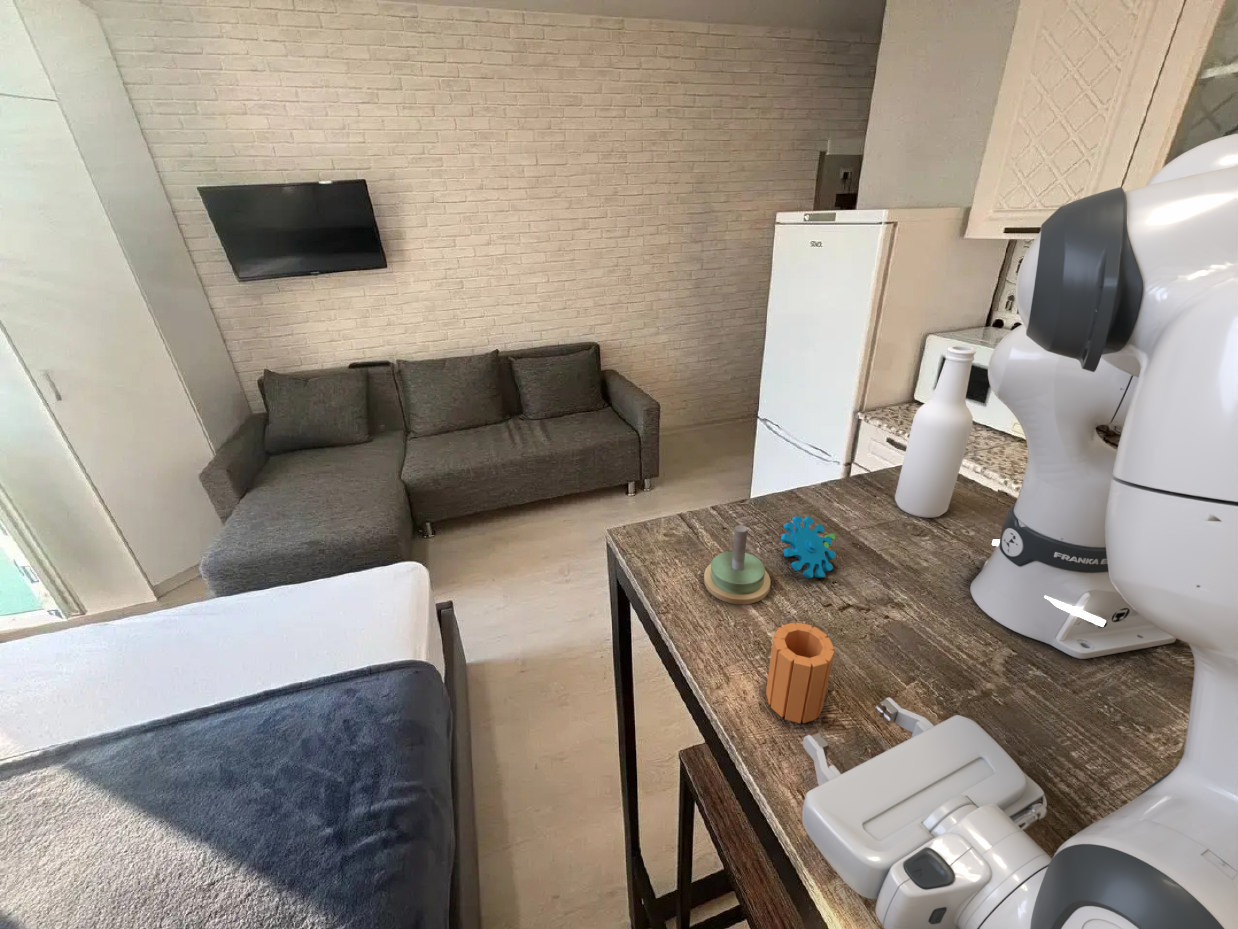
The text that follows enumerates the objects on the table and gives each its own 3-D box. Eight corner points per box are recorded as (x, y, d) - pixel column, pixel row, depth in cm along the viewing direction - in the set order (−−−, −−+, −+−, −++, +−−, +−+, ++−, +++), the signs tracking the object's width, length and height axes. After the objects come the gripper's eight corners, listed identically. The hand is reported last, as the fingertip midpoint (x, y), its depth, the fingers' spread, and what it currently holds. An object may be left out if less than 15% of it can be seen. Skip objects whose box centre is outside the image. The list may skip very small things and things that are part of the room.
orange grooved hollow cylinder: (812, 676, 63) (822, 621, 59) (829, 723, 57) (842, 666, 53) (761, 677, 63) (768, 622, 59) (774, 723, 57) (782, 666, 53)
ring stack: (761, 561, 83) (767, 509, 78) (777, 604, 74) (784, 548, 70) (700, 562, 83) (702, 510, 79) (708, 605, 75) (711, 549, 70)
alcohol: (952, 522, 91) (1003, 356, 77) (897, 515, 93) (937, 354, 80) (940, 497, 98) (984, 342, 85) (890, 492, 101) (925, 341, 87)
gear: (802, 584, 75) (777, 520, 78) (776, 591, 80) (753, 530, 83) (851, 568, 80) (826, 508, 83) (824, 575, 85) (801, 519, 88)
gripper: (1074, 785, 42) (927, 664, 54) (890, 905, 36) (767, 737, 47) (1048, 828, 45) (914, 704, 57) (873, 946, 39) (761, 779, 50)
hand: (846, 720), depth 52 cm, fingers open, 8 cm apart
